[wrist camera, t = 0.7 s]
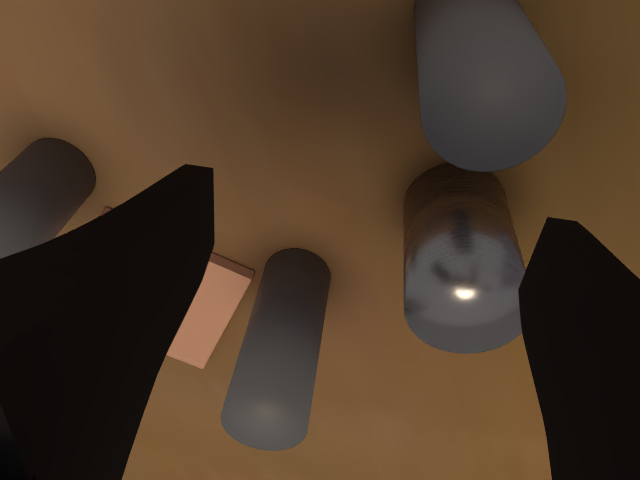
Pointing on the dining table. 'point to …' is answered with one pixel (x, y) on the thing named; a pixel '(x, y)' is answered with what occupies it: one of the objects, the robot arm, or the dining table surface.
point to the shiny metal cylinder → (461, 261)
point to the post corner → (279, 354)
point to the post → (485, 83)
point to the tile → (209, 310)
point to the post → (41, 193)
